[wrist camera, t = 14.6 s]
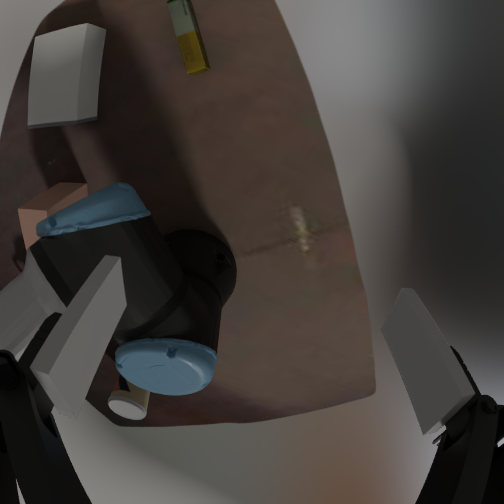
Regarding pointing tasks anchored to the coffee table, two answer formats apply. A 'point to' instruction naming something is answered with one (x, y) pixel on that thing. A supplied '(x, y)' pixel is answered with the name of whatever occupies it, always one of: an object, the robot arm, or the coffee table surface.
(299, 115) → the coffee table surface
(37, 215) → the terracotta stub
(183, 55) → the medication box
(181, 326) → the robot arm
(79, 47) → the light grey block
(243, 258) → the coffee table surface
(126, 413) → the coffee cup
